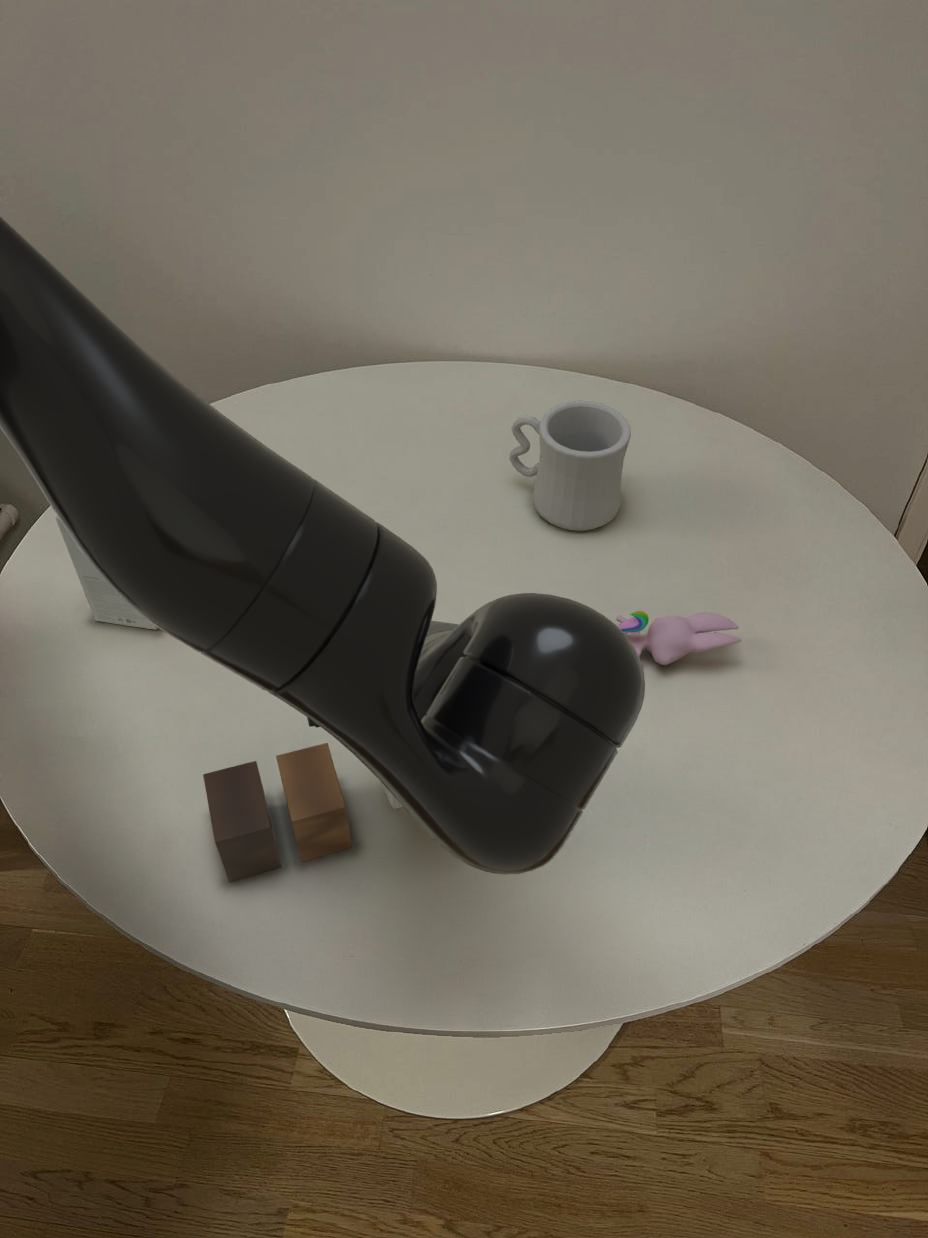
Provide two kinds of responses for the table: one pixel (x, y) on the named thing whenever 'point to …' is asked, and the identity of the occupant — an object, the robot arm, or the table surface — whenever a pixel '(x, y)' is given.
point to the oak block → (314, 801)
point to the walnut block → (241, 821)
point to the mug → (576, 463)
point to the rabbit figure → (677, 634)
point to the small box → (101, 591)
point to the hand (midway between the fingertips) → (389, 669)
